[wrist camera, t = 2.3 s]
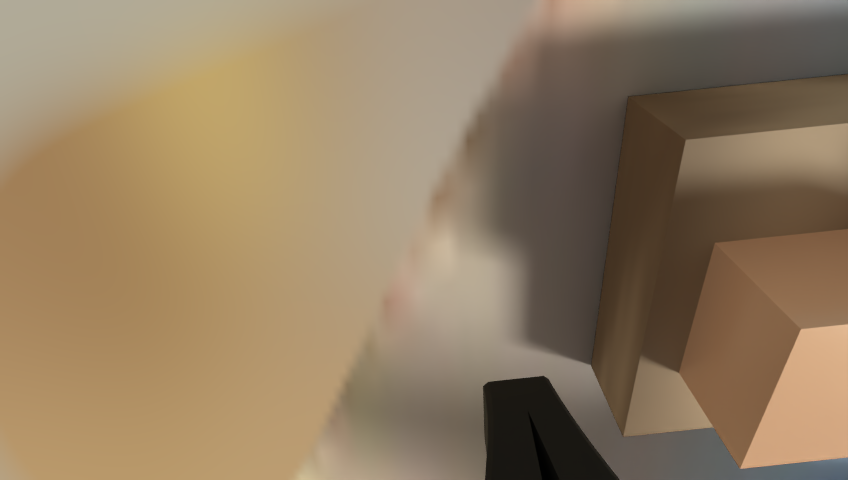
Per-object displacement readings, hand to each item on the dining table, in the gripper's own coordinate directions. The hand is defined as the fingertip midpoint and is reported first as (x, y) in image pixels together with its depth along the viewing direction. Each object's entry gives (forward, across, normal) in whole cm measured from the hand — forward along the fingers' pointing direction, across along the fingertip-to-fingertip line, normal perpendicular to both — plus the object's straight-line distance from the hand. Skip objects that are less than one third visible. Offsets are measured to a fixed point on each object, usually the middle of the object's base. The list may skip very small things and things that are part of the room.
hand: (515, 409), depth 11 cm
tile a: (+2, -8, 0) cm, 8 cm away
